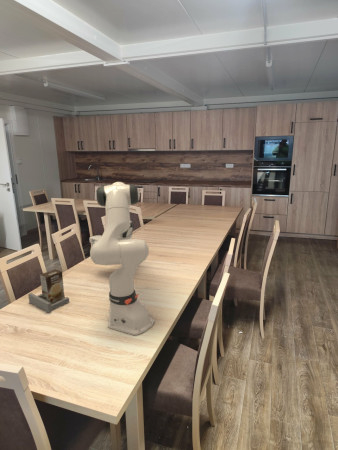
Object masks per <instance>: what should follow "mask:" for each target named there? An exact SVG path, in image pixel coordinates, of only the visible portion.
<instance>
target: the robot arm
mask: <svg viewBox="0 0 338 450" xmlns="http://www.w3.org/2000/svg"><path fill="white" fill-rule="evenodd" d="M140 197H141V193H140V189H139V188H138V185H136V184H134V183H133V184H131V183H129V184H125V183H124V182H122V181H116V182H113V183H112V184H108V185H101V186H98V187H97V189H96V192H95V200H96V202H97V204H98V205H99V206H100V207H105V226H104V231H103V233H102V235H99V234H98V235H97V234H96V235H93V236H90V237H89V239H88V240H89V243H90V244H91V247H90V251H89V255H90V259H91V261H92V262H93V263H94V264H95V265H100V266H112V265H113V266H115V265H121V266H120V267H119V268H117V269H115V270H114V271H113V272H112V273H110V275H109V278H108V280H109V281H108V283H109V290H108V291H109V292H108V298H109V309H108V310H109V311H108V318H107V321H108V322H107V327H108V329H112V330H115V331H118V332H122V333H125V334H128V335H132V336H138V335H141V334H143V333H146V331H148V330H149V329H151V328H152V327H153V325H155V319H154V318H153V317H151V316H150V313H149V310H148V308H147V307H146V305H145V304H143V303H142V302H141V301H140V299H138V298H139V296H140V294H139V293H138V294H137V292H136V290H135V274H136V271H137V270H138V268H139V267H140V265H141V264H142V263H143V262H145V261H146V260H147V259H148V257H149V253H150V250H149V245H148V243H147V242H146V241H145V239H140V238H139V239H138V238H132V237H133V231H134V223H133V221H131V214H130V212H131V211H130V207H131V206H132V205H133V206H134V205H137V204H138V203H139V200H140Z"/></svg>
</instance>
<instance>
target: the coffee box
mask: <svg viewBox="0 0 338 450" xmlns="http://www.w3.org/2000/svg"><path fill="white" fill-rule="evenodd" d="M39 277H40V278H39V279H40V285H41V286H40V287H41V294H42V297H43V299H44V300H46V301H47V302H49V303H50V304H54V303H56V302H58V301H60V300H62V299H64V298H66V297H65V289H64V288H65V287H64V278H63V271H61V270H59V269H52V270H49V271H46V272H43V273H40V274H39Z"/></svg>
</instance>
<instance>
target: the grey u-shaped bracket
mask: <svg viewBox="0 0 338 450" xmlns="http://www.w3.org/2000/svg"><path fill="white" fill-rule="evenodd" d="M27 295H28V302H29V303H30V305H31V304H32V305H33V306H35V307H37V308H38V309H40V310H42V311H44V312H46V313H47V314H50V313H52V311H54V310H56V309H58V308H60V307H62V306H65V305H67V304H69V303H70V298H69V297H65V298H64V299H62V300H60V301H58V302H56V303H54V304H50V303H49V302H47V301H46V300H44V299H43V297H42V293H40V294H38V295H36V294H33V292H30V293H28V294H27Z"/></svg>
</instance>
